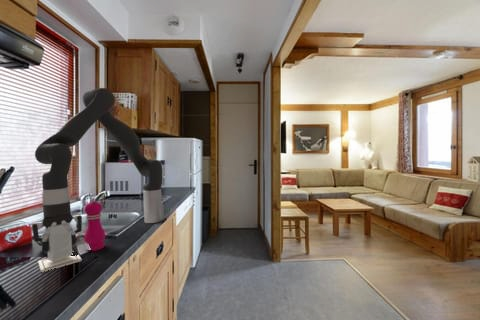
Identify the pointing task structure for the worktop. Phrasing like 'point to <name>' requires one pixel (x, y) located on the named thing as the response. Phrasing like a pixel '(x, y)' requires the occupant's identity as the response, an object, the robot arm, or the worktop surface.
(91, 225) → the pepper mill
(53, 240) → the skincare box
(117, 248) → the worktop surface
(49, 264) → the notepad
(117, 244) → the worktop surface
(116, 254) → the worktop surface
